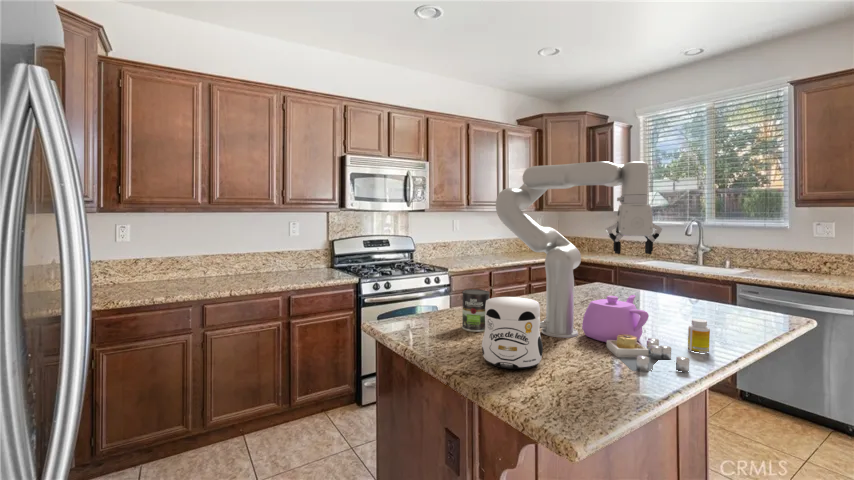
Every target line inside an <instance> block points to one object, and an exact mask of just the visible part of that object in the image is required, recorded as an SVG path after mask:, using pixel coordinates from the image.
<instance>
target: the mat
mask: <svg viewBox="0 0 854 480" xmlns="http://www.w3.org/2000/svg"><path fill="white" fill-rule="evenodd" d="M614 356H615V357H617V356H616V355H614ZM617 359H619V360H620V361H621V362H622V363H623V364H624V365H625V366H626V367H628V368H629V370H631V371H632V372H639V371H638V370H637V369H636V364H637V357H617ZM657 361H658V360H654V359H651V354H649V371H651V372H652V370H653V365H654V364H655V363H656V362H657ZM651 369H652V370H651ZM649 371H648V372H649ZM648 372H647V373H648Z"/></svg>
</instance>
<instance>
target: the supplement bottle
mask: <svg viewBox="0 0 854 480" xmlns="http://www.w3.org/2000/svg"><path fill="white" fill-rule="evenodd" d="M710 332H711V330H710V328H709V326H708V322H707V320H705V319H701V318H691V324H689V325H688V330H687V335H688V336H687V351H688V350H690V351H694V352H699V353H707V352H709V353H710V335H711V333H710ZM690 351H689V352H690Z"/></svg>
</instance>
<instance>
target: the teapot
mask: <svg viewBox="0 0 854 480" xmlns="http://www.w3.org/2000/svg"><path fill="white" fill-rule="evenodd" d="M635 298H636V294H632V295H629V296H628V297H627V299H626V301H622V300H619V297H618V296H615V295H607V296H606V298H601V299H596V300H591V301H590V302H589V304H588V306H587V308H586V310H585V313H584V315H583V319H582V325H581V328H582V331H583V333H584V334H585V336H586V337H588V338H591V339H593V340H597V341H598V342H599V341H600V342H603V343H607V340H617V336H618V335H620V334H625V335H632V336H635V337H637V341H639V339H640V338H641V336H642V335H643V326H644V325H645V324H646V323H647V321H648V320H649V313H648V311H646V310H644V309H637V307H636V305H635V304H634V300H635Z"/></svg>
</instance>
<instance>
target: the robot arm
mask: <svg viewBox="0 0 854 480" xmlns="http://www.w3.org/2000/svg"><path fill="white" fill-rule="evenodd" d="M522 182H523V184H522V185H521V186H520V187H519V188H517V187H508V188H505V189H502V190H501V191H500V192H499V193H498V194H497V197H496V200H495V212H496V214H497V216H498V218H499V220H500V221H501V222H502V224H503V225H504V226H505V227H506V228H508V230H510V231H511V232H512V233H513V234H514V235H515V236H516V237H517V238H518V239H519V240H521V241H522V243H524V244H525V245H526V246H527V247H528V248H529V249H530V250H532V252H535V253H545V254H546V255H545V257H544V258H545V259H544V268H545V278H546V281H545V282H546V283H545V284H546V294H545V295H546V298H545V299H546V300H545V302H546V303H545V305H546V306H545V318H544V319H543V320H540V329H541V333H542V334H543V335H545V336H548V337H554V338H561V339H563V338H564V339H566V338H567V339H568V338H575V337H577V336H578V335H579V331H578V330H577V329H576V328H574V322H575V321H574V320H575V317H574V315H575V277H574V270H575V269H577V268H578V267H579V266H580V264H581V261H582V254H581V252H580V250H579V249H578V248H577V247H576V246H575V245H574V244H573V243H572V242H570V241H569V240H568V239H567V238H566V237H564V235H562V234H561V233H560V232H559V231H557V229H555V228H553V227H551V226H542V225H540V224H538V223H537V222H536V221H535V220H534V219H533V218H532V217H531V216H529V215H528V214H526V213H525V212H523V211H524V210H526V209H528V208H530V207H531V206H532V205H533V204H534V203H535V202H536V201H537V200H538V199H540V197H542V195H544V194H545V193H546V192H547V191H548V190H560V189H563V190H565V189H571V188H574V187H577V186H578V187H579V186H580V187H581V186H605V187H609V188H610V187H611V188H612V187H618V186H621V195H620V196H619V197H617V198H616V201H617V203H618V202H620V205H619V206H618V209H617V214H616V220H615V223H613V224H611V225H609V226H607V227H605V232H606V234H607V236H608V237H609V238H610V239H611V240H612V241H613V252H614V254H615V255H620V254H621V252H622V251H621V247H622V243H621V241H620V240H621V239H622V238H623V237H644V238H645V239H646V240H645V243H644V244H645V246H644V253H645V254H647V255H652V253H653V250H654V242H655V240H656V239H658V237H660V234H661V233H662V231H663V228H662V227H661V226H659V225H657V224H654V221H653V212H652V206H651V205H650V204H648V196H649V194H648V193H649V192H648V191H649V164H648V163H647V162H645V161H630V162H626V163H624V164H617V163H613V162H610V161H590V162H589V161H588V162H577V163H567V164H549V165H533V166H530V167H528V168H526V169H525V170H524V172H523V174H522ZM614 229H615V233H616V234H615V233H613V230H614ZM653 230H655V231H653ZM653 232H654V233H653Z"/></svg>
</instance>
